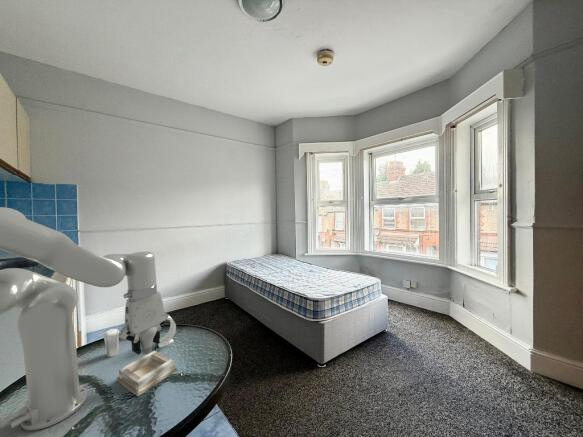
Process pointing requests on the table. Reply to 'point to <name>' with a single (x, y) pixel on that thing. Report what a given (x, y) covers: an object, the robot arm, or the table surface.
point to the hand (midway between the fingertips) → (146, 346)
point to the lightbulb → (147, 339)
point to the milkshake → (111, 342)
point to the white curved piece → (168, 334)
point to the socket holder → (146, 372)
